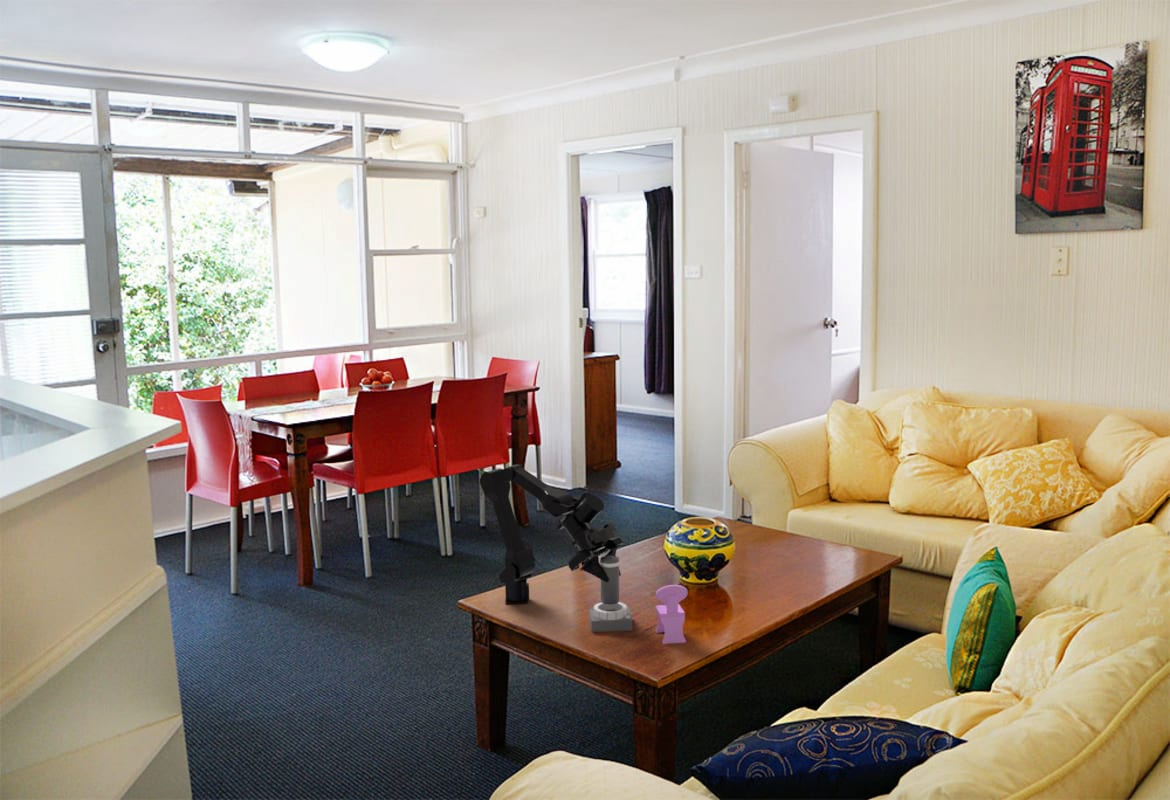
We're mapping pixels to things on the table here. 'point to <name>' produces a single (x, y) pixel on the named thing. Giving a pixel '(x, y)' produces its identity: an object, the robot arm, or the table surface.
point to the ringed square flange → (610, 618)
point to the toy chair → (671, 613)
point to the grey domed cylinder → (610, 580)
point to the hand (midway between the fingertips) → (613, 578)
